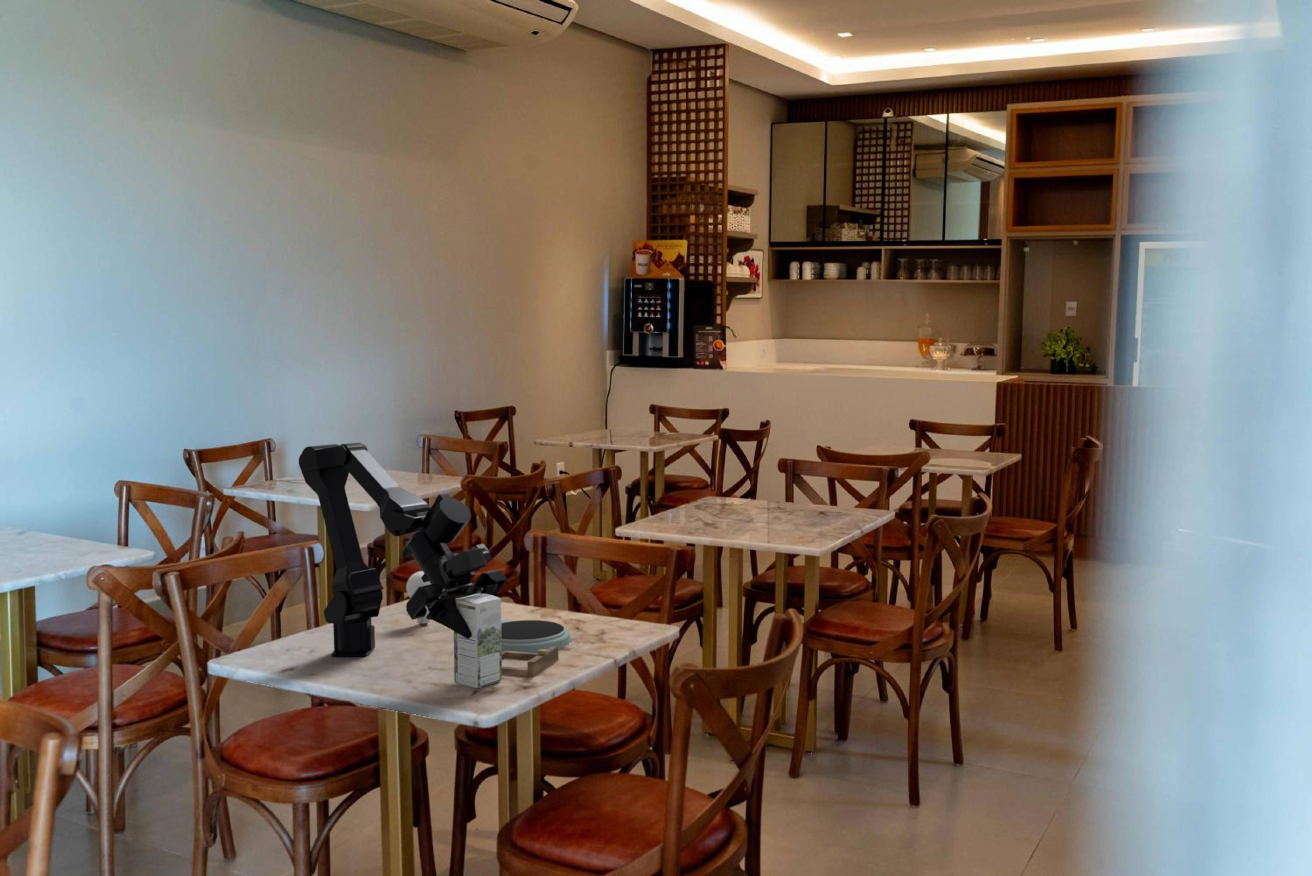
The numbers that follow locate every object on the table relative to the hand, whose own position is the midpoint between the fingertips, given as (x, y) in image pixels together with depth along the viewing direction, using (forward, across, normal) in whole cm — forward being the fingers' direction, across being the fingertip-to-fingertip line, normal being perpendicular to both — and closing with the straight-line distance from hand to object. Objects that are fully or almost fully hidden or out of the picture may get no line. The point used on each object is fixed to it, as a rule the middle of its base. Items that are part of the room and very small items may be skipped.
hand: (483, 633), depth 188 cm
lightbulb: (-22, +22, +34) cm, 46 cm away
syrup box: (+5, 0, +7) cm, 9 cm away
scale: (-5, +24, +18) cm, 30 cm away
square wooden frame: (+4, +11, +8) cm, 14 cm away
